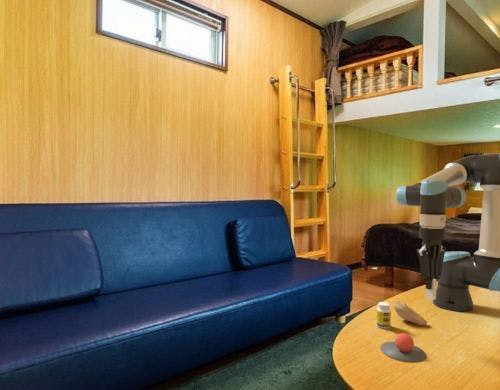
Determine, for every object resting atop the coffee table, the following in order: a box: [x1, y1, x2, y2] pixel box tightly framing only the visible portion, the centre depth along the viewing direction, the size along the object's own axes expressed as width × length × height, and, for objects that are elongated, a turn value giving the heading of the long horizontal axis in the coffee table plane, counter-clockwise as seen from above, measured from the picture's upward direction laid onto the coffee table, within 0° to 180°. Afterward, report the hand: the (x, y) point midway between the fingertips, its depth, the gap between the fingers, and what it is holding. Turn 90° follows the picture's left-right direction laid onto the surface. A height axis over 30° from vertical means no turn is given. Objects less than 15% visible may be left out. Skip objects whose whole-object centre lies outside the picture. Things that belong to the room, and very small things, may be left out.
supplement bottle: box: [376, 301, 392, 330], centre depth 129 cm, size 5×5×8 cm
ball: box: [394, 332, 415, 352], centre depth 109 cm, size 6×6×6 cm
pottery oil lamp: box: [392, 300, 428, 327], centre depth 133 cm, size 9×12×7 cm
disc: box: [379, 341, 427, 363], centre depth 109 cm, size 13×13×1 cm
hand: (430, 298), depth 116 cm, fingers closed
